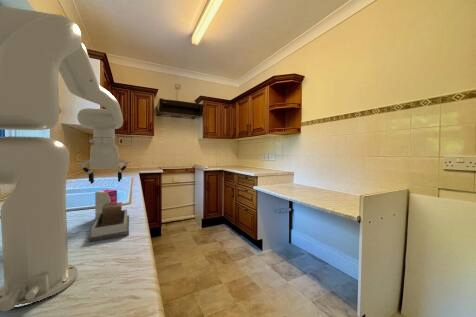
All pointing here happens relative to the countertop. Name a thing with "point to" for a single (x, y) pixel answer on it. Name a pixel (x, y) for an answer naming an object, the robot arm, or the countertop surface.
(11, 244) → the robot arm
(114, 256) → the countertop surface
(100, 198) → the supplement box
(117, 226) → the grey open tray
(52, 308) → the countertop surface
